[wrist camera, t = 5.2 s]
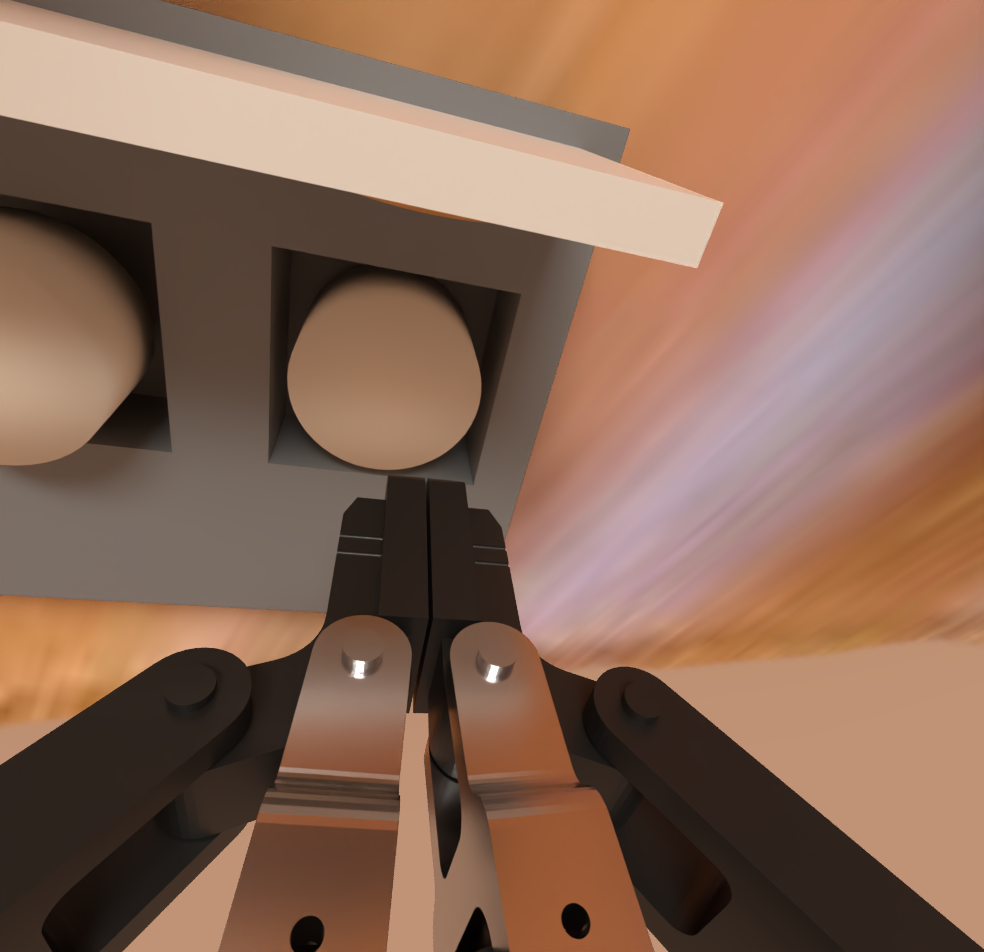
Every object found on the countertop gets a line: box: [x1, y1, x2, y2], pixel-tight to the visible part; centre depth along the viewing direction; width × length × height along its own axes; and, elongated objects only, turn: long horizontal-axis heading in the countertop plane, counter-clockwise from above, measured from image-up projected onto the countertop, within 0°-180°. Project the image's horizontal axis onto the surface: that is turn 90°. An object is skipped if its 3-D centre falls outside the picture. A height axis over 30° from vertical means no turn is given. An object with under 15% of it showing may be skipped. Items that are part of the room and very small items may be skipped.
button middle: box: [0, 207, 155, 466], centre depth 13 cm, size 5×5×3 cm
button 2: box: [287, 264, 481, 470], centre depth 16 cm, size 5×5×3 cm
